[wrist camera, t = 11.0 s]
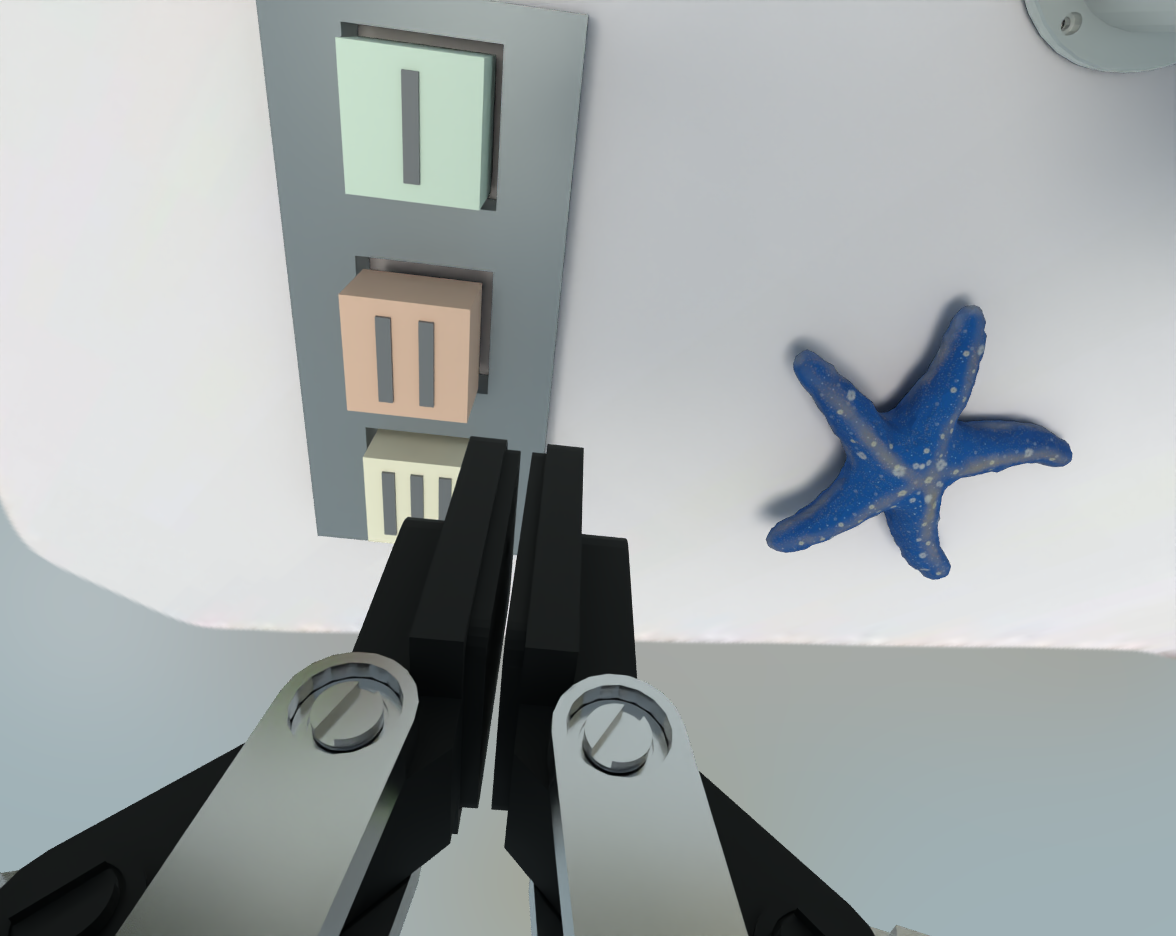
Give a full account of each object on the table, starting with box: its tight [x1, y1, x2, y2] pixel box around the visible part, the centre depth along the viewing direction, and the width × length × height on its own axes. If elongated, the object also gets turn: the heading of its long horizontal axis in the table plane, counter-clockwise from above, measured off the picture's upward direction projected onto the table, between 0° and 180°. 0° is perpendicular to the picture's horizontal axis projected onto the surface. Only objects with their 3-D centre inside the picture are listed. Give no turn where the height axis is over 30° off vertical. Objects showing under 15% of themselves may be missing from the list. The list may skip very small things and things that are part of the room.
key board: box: [256, 0, 588, 555], centre depth 38 cm, size 14×30×2 cm, turn 173°
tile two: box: [338, 269, 482, 423], centre depth 35 cm, size 6×6×4 cm
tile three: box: [363, 429, 470, 544], centre depth 42 cm, size 6×6×4 cm
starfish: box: [766, 305, 1072, 580], centre depth 41 cm, size 19×19×5 cm
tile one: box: [335, 37, 496, 210], centre depth 31 cm, size 6×6×4 cm
